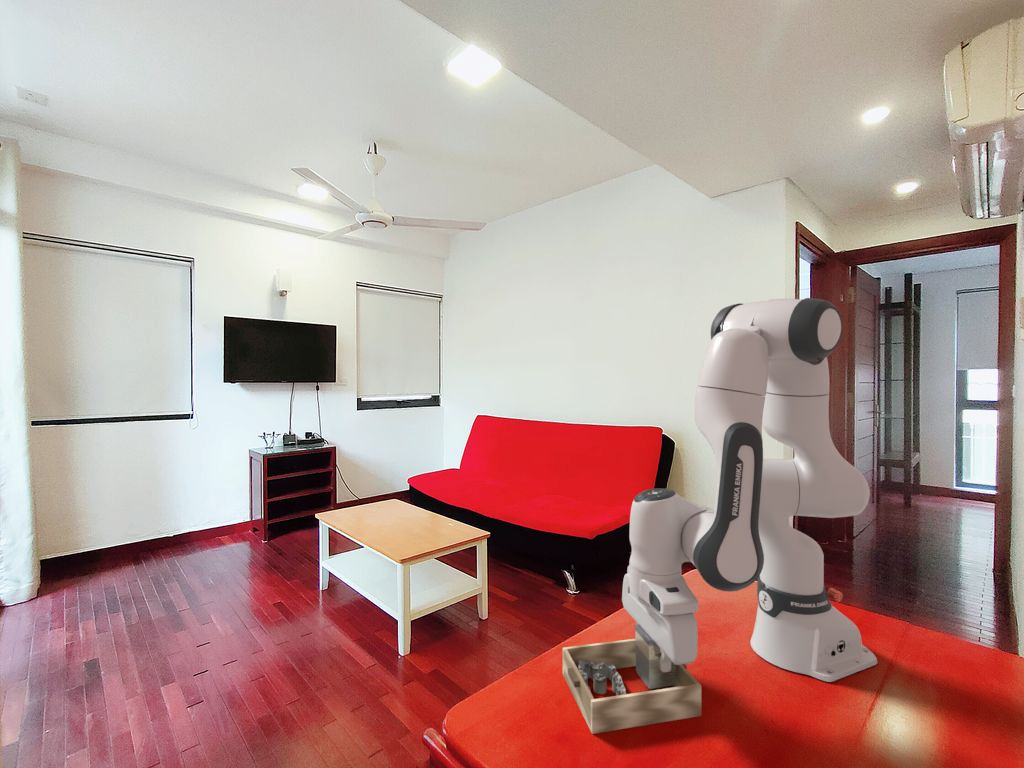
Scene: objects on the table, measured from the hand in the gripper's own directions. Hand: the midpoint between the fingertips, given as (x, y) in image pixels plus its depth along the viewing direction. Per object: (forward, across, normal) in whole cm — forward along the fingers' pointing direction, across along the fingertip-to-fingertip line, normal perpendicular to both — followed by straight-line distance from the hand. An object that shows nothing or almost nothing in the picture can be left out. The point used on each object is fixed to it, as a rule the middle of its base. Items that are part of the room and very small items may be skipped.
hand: (655, 658), depth 83 cm
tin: (+4, 0, 0) cm, 4 cm away
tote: (+6, 0, -5) cm, 8 cm away
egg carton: (+6, 0, -10) cm, 12 cm away
